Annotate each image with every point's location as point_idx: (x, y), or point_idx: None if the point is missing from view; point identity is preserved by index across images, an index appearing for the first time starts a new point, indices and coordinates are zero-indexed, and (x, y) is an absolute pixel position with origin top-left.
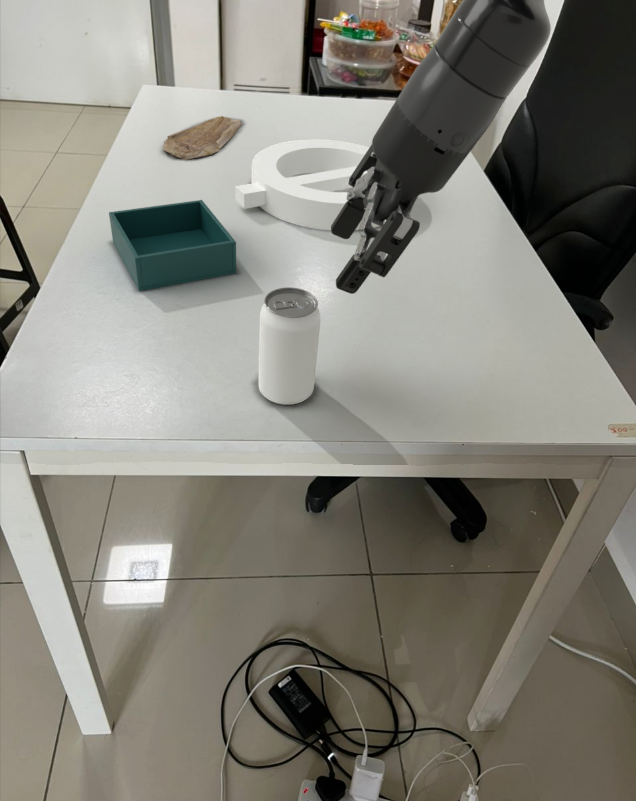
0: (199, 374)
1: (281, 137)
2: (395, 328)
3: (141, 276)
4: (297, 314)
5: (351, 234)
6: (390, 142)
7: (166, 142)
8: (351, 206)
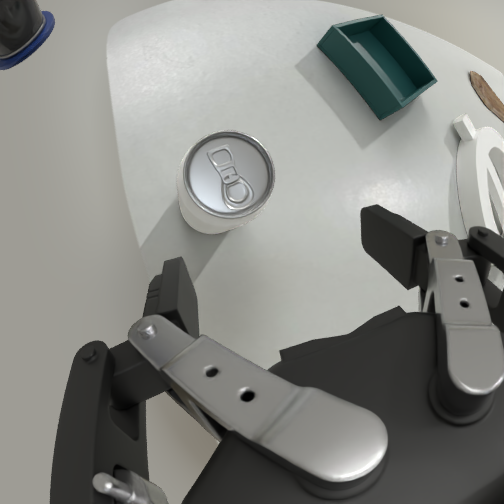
0: (209, 111)
1: None
2: (351, 300)
3: (325, 39)
4: (201, 190)
5: (370, 255)
6: None
7: (476, 73)
8: (412, 250)
